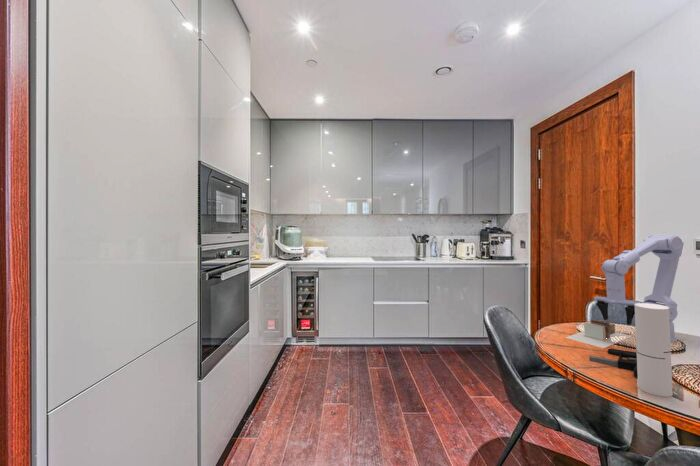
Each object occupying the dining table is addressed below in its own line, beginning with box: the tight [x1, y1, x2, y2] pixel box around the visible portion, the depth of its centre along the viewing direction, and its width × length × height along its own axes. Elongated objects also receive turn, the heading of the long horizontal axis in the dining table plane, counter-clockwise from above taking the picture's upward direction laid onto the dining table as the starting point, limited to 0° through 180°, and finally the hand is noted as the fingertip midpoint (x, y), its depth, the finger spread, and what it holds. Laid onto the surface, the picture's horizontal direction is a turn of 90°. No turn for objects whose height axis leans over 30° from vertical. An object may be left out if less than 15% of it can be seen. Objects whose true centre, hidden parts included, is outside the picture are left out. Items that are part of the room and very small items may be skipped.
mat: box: [564, 330, 633, 349], centre depth 129 cm, size 25×14×1 cm, turn 116°
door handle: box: [588, 348, 638, 378], centre depth 104 cm, size 3×20×16 cm
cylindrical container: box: [634, 302, 674, 398], centre depth 87 cm, size 7×7×25 cm
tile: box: [583, 321, 606, 341], centre depth 127 cm, size 2×7×6 cm, turn 26°
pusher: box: [589, 319, 616, 338], centre depth 131 cm, size 11×6×6 cm, turn 116°
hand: (617, 321), depth 121 cm, fingers open, 7 cm apart
